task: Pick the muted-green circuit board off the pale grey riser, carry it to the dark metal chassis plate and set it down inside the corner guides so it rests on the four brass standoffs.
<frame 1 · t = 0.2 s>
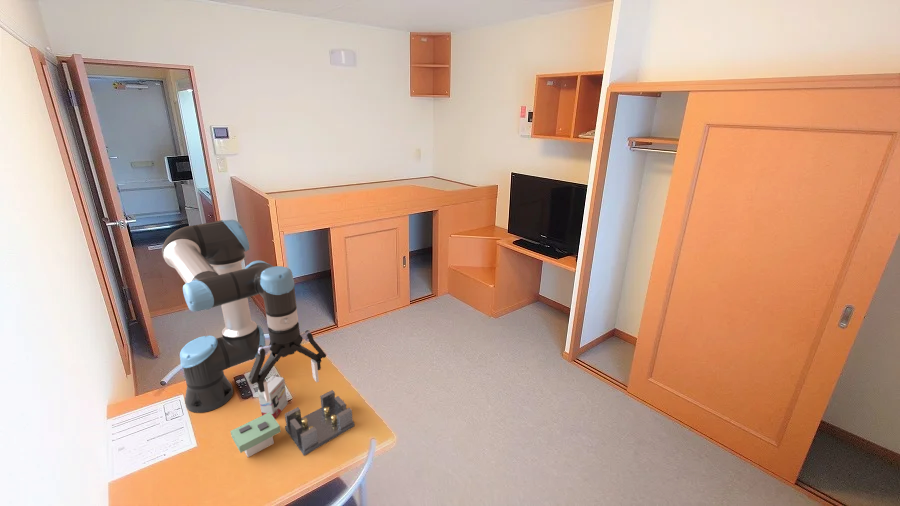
hand: (292, 389, 113), 27 cm above the table, fingers open, 13 cm apart
riser: (258, 446, 127), on the table
ink box: (275, 411, 142), on the table
board: (256, 434, 125), point 5 cm above the table, touching riser
chassis: (320, 428, 135), on the table
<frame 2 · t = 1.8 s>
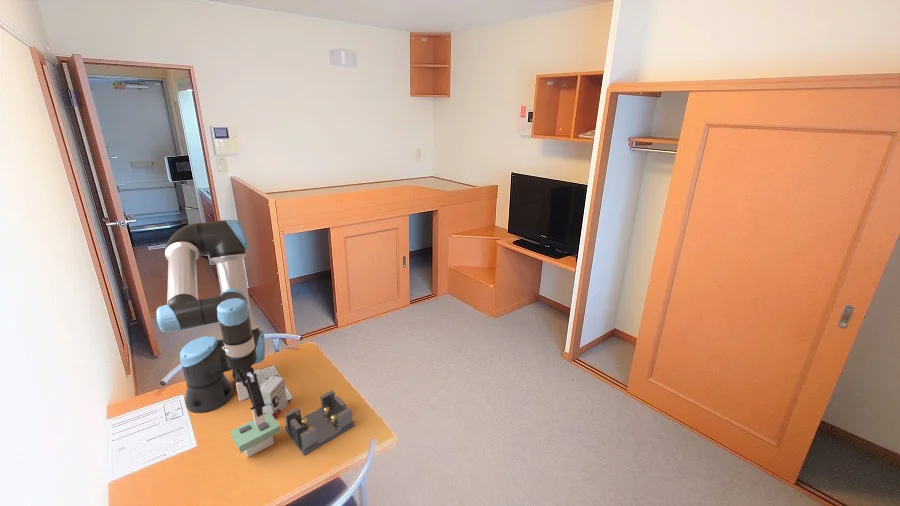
hand: (251, 410, 122), 15 cm above the table, fingers open, 13 cm apart
nothing on the table moved.
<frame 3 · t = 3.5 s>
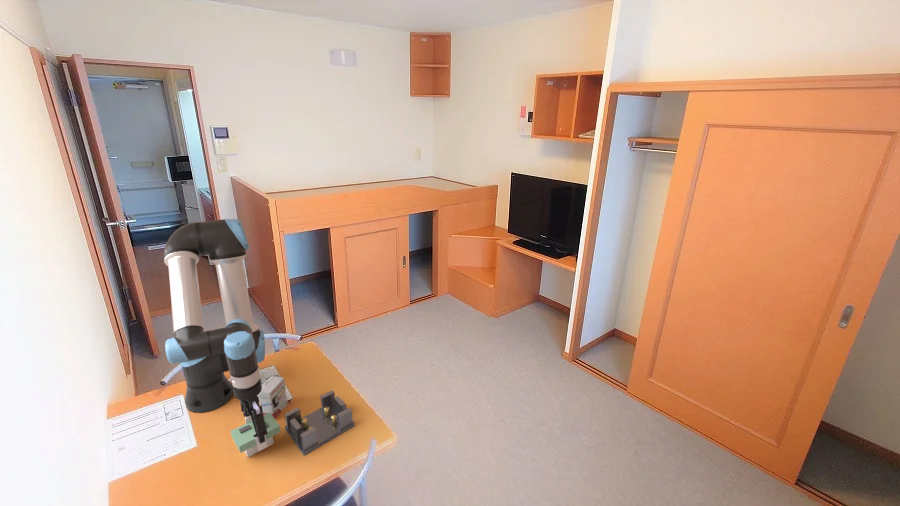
hand: (257, 439, 126), 3 cm above the table, fingers closed on board, 8 cm apart
board: (256, 434, 125), point 5 cm above the table, touching gripper, riser
everything else where it was.
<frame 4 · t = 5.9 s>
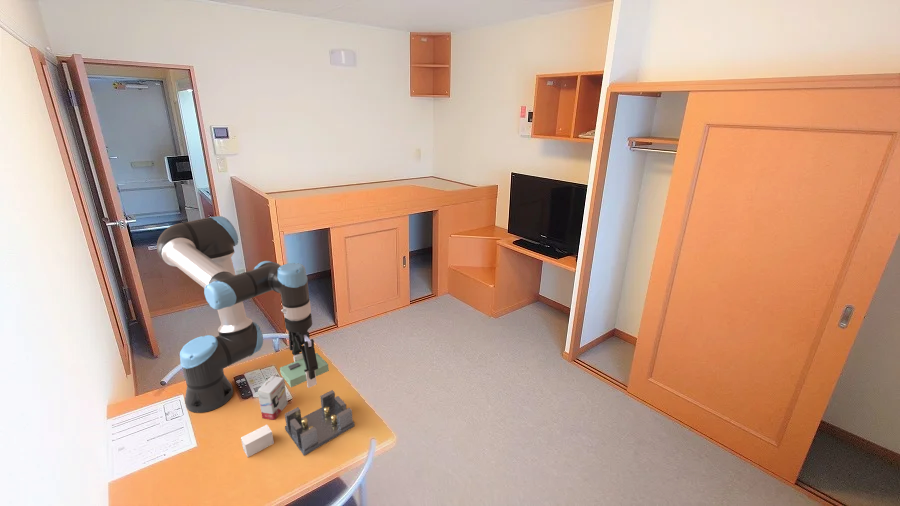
hand: (306, 378, 126), 22 cm above the table, fingers closed on board, 8 cm apart
board: (305, 372, 125), point 24 cm above the table, touching gripper
everything else where it was.
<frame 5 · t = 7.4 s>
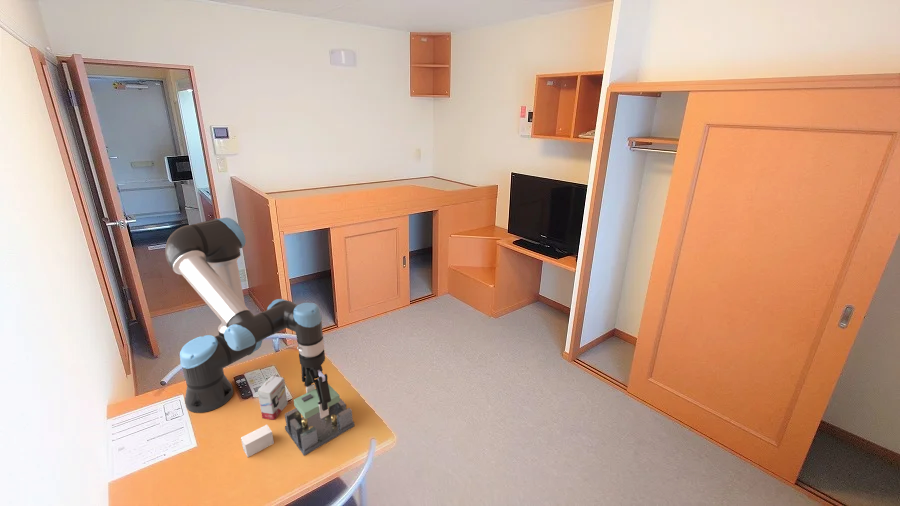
hand: (318, 408, 132), 8 cm above the table, fingers closed on board, 8 cm apart
board: (317, 403, 131), point 11 cm above the table, touching gripper
everything else where it was.
when the fingers open (4 cm above the table, at t = 8.6 s): board drops 1 cm, resting on chassis.
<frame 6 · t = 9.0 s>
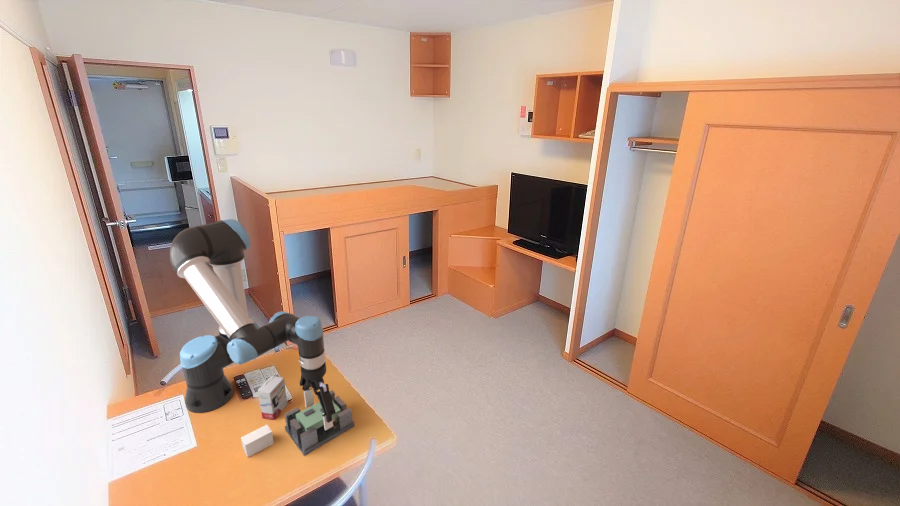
hand: (319, 416, 133), 5 cm above the table, fingers open, 13 cm apart
board: (318, 417, 133), point 4 cm above the table, touching chassis
everything else where it was.
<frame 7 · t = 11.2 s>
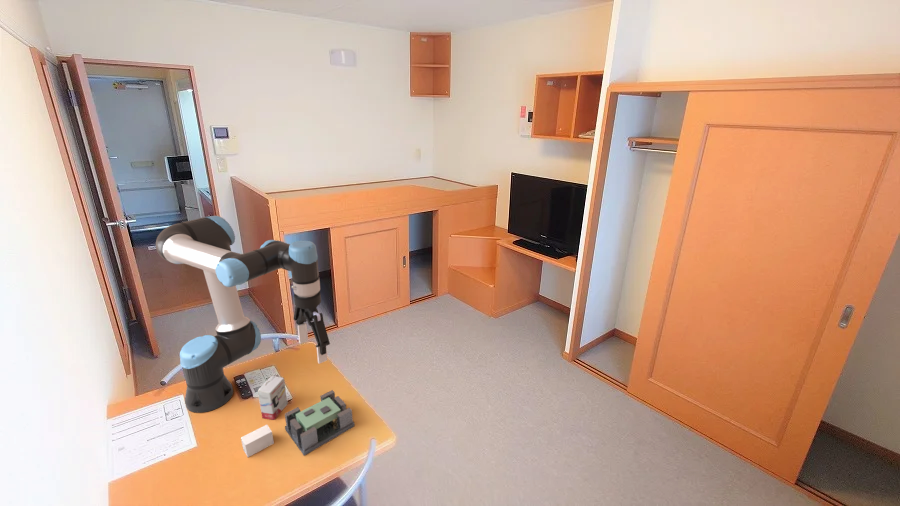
hand: (312, 351, 128), 29 cm above the table, fingers open, 13 cm apart
nothing on the table moved.
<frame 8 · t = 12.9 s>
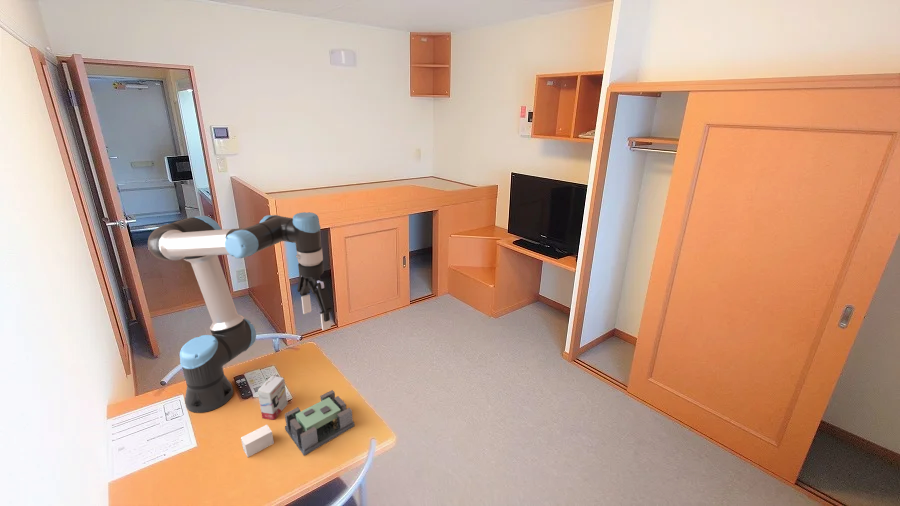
hand: (316, 320, 134), 35 cm above the table, fingers open, 13 cm apart
nothing on the table moved.
at the end: board 0.1 cm off-centre on the chassis, point 4.5 cm above the chassis's base; board tilted 0°; the gripper is holding nothing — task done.
